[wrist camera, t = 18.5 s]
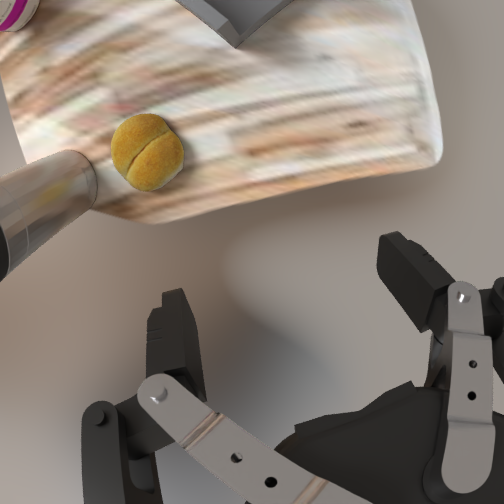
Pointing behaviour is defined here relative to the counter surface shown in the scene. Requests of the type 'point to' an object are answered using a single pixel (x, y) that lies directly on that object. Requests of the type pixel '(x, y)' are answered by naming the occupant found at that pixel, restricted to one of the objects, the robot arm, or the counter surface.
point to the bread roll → (146, 152)
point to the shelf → (234, 15)
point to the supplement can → (16, 13)
